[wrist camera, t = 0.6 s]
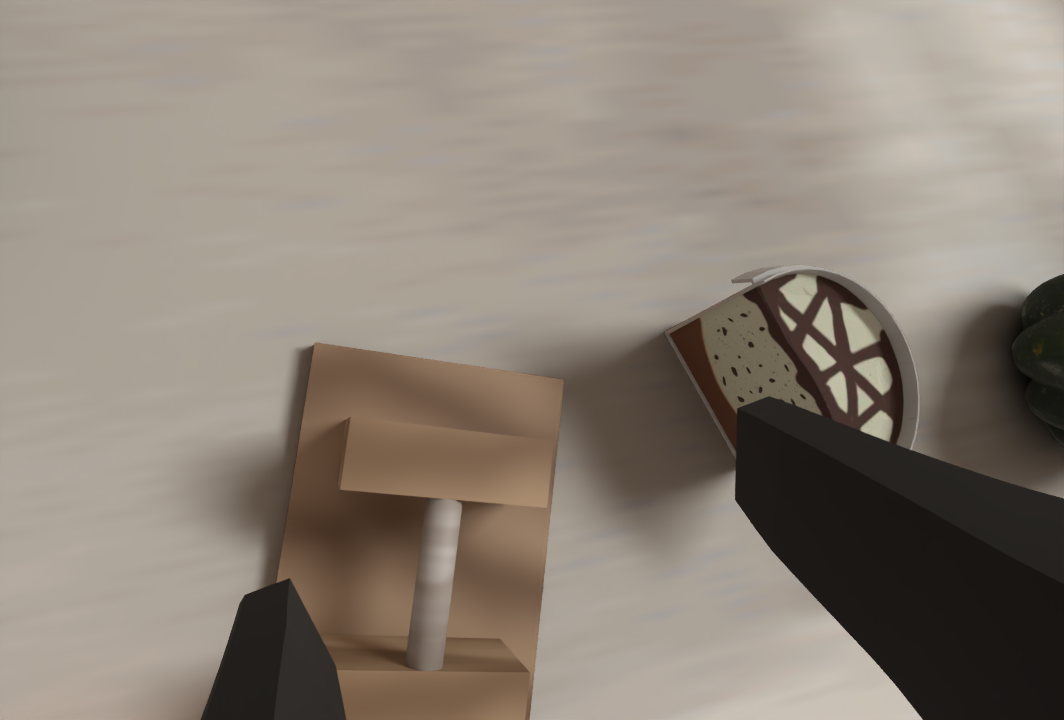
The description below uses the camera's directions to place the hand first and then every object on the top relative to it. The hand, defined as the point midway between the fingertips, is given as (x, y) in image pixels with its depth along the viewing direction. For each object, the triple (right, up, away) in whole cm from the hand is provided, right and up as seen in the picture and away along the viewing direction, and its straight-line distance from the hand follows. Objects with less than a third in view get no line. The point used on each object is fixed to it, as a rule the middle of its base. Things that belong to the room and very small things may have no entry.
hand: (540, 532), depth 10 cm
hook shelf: (-6, -7, +23) cm, 25 cm away
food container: (+12, +2, +30) cm, 33 cm away
